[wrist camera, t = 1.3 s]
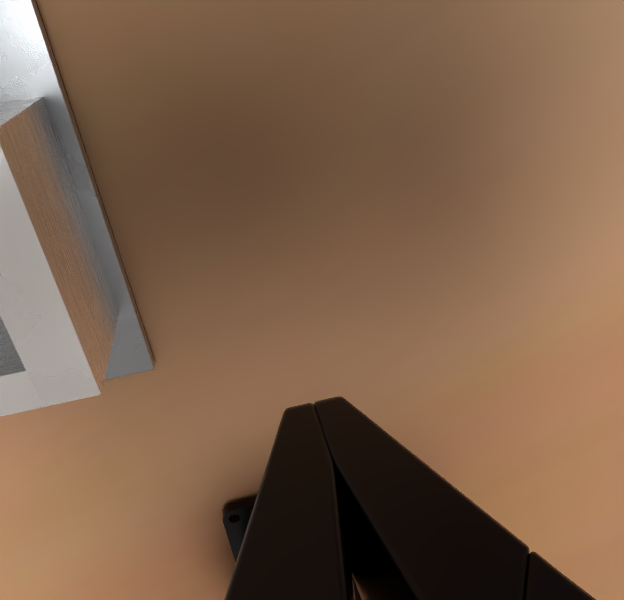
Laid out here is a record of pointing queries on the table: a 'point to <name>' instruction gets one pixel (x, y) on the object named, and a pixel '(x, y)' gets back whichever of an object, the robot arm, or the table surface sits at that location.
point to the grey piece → (70, 166)
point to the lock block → (47, 272)
